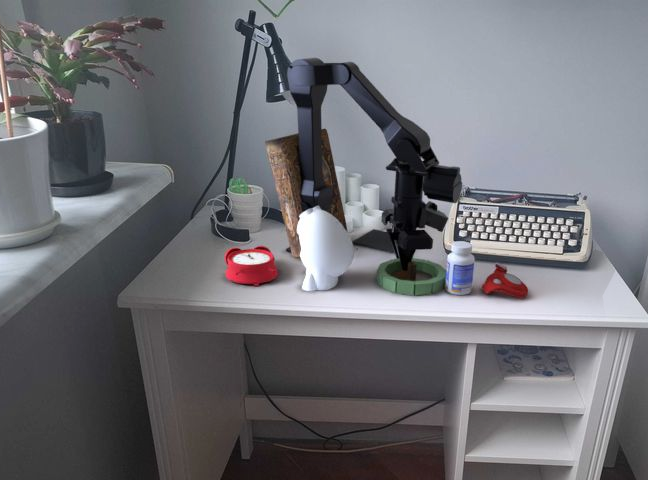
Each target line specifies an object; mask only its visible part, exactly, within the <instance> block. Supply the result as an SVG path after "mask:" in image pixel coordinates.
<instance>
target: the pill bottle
mask: <svg viewBox="0 0 648 480" xmlns="http://www.w3.org/2000/svg"><path fill="white" fill-rule="evenodd" d="M450 250H451V251H450V252H449V254H448V255H447V258H446V269H445V270H446V281H445V286H444V289H445V291H446V292H447V293H449V294H451V295H455V296H456V295H457V296H464V295H468V294H470V293H472V290H473V279H474V268H475V261H476V258H475V256H474V255H473V254H472V251H473V244H472V243H471V242H469V241H463V240H458V241H453V242H452V243H451V249H450Z"/></svg>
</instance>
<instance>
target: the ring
mask: <svg viewBox="0 0 648 480" xmlns="http://www.w3.org/2000/svg"><path fill="white" fill-rule="evenodd" d="M411 262H416V263H417V268H416V270H420V271H424V272H426V273H429V274H430V275H432V276H433V278H432V279H430V280H424V281H407V280H400V279H397V278H395V277H392V276H390V274H391V273H393V272H395V271H398V270H403V269H402V266H401V263H400V259H397V258H393V259H389V260H387V261H386V260H385V261H384V262H381V263H380V264H379V265H378V267H377V269H376V282H377V283H378V285H379V287H381V288H382V289H384V290H386V291H389V292H391V293H394V294H397V295H407V296H425V295H432V294H435V293H437V292H439V291H442V290H444V289H445V281H446V269H445V268H444V267H443V266H442V265H441V264H439V263H437V262H434V261H431V260H428V259H423V258H415V257H413V258H412V261H411Z"/></svg>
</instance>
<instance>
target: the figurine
mask: <svg viewBox="0 0 648 480" xmlns="http://www.w3.org/2000/svg"><path fill="white" fill-rule="evenodd" d="M299 217H300V220H299V222H298V226H297V233H298V234H299V239H300V244H301V252H300V257H301V259H300V260H301V262H302V265H304V267H305V278H304V280H303V281H302V286H301V289H302V290H303V291H306V292H314V291H327V290H331V289H333V288H334V287H336V286H337V285H338V282H339V277H340V276H341V275H343V274H345V273H346V271H348V270H349V268H350V266H351V265H352V263H353V260H354V256H355V248H354V244H353V243H352V241H353V240H352V238H351V237H350V234H349V232H347V231H346V230H345V229H344V227H343V225H342V224H341V223H340V222H339V221H338V220H337V219H336V218H335V217H334V216H333V215H331V214H330V213H328V212H326V211H323V210H321V208H320V207H319V206H316V207H314V208H310V209H308V210H306V211H304V212H303V213H302V214H301V215H300V216H299Z"/></svg>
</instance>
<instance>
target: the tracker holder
mask: <svg viewBox="0 0 648 480" xmlns="http://www.w3.org/2000/svg"><path fill="white" fill-rule="evenodd" d="M494 267H495V269H494V271H493V272H491V274H489V275H488V276H487V277H486V278H485V280H484V283H483V284H482V285H481V286H480V289H481V290H482V291H483V292H484V293H485V294H486V295H489V294H490V293H491V292H500V293H503V294H505V295H509V296H512V297H515V298H519V299H521V298H522V299H523V298H526V297H527V296H528V293H529V287H528V286H527V285H526V283H524V282H523V281H522V280H521V279H520V278H518V277H517V276H515V275H514V274H511V273H508V267H507V266H505V265H503V264H501V263H499V262H498V261H496V262H495V265H494Z"/></svg>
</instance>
